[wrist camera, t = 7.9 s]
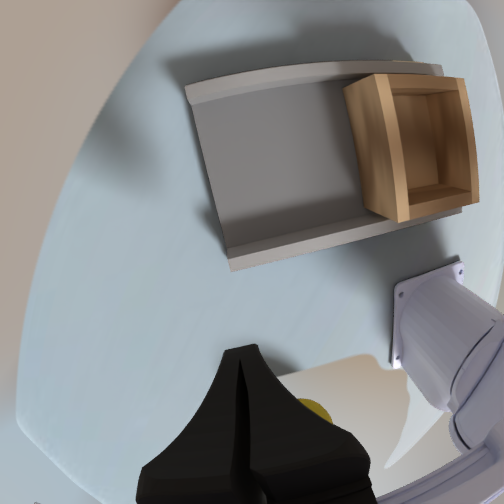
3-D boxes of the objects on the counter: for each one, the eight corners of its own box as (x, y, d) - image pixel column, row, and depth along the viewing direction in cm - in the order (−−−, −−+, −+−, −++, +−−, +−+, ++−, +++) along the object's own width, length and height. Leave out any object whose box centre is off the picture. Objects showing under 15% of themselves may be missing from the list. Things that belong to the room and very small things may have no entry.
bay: (438, 211, 21) (461, 220, 18) (231, 263, 20) (233, 281, 18) (416, 64, 17) (439, 57, 14) (188, 88, 16) (182, 76, 14)
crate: (445, 189, 19) (484, 200, 15) (364, 207, 19) (398, 223, 15) (430, 86, 16) (469, 79, 12) (342, 88, 16) (374, 73, 12)
